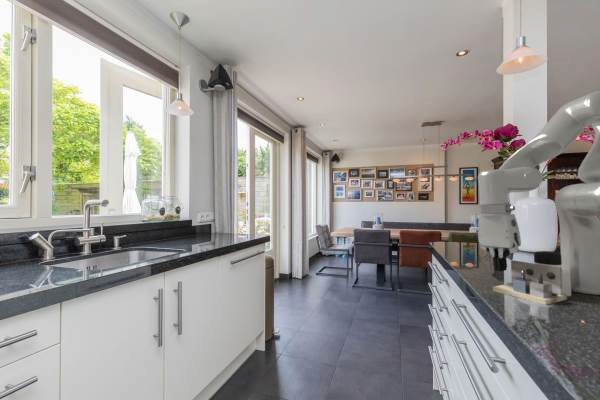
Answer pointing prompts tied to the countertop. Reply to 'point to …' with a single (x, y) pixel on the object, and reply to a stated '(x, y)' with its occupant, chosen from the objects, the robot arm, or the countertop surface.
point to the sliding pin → (522, 283)
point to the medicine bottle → (554, 261)
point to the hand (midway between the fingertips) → (500, 270)
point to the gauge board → (536, 283)
